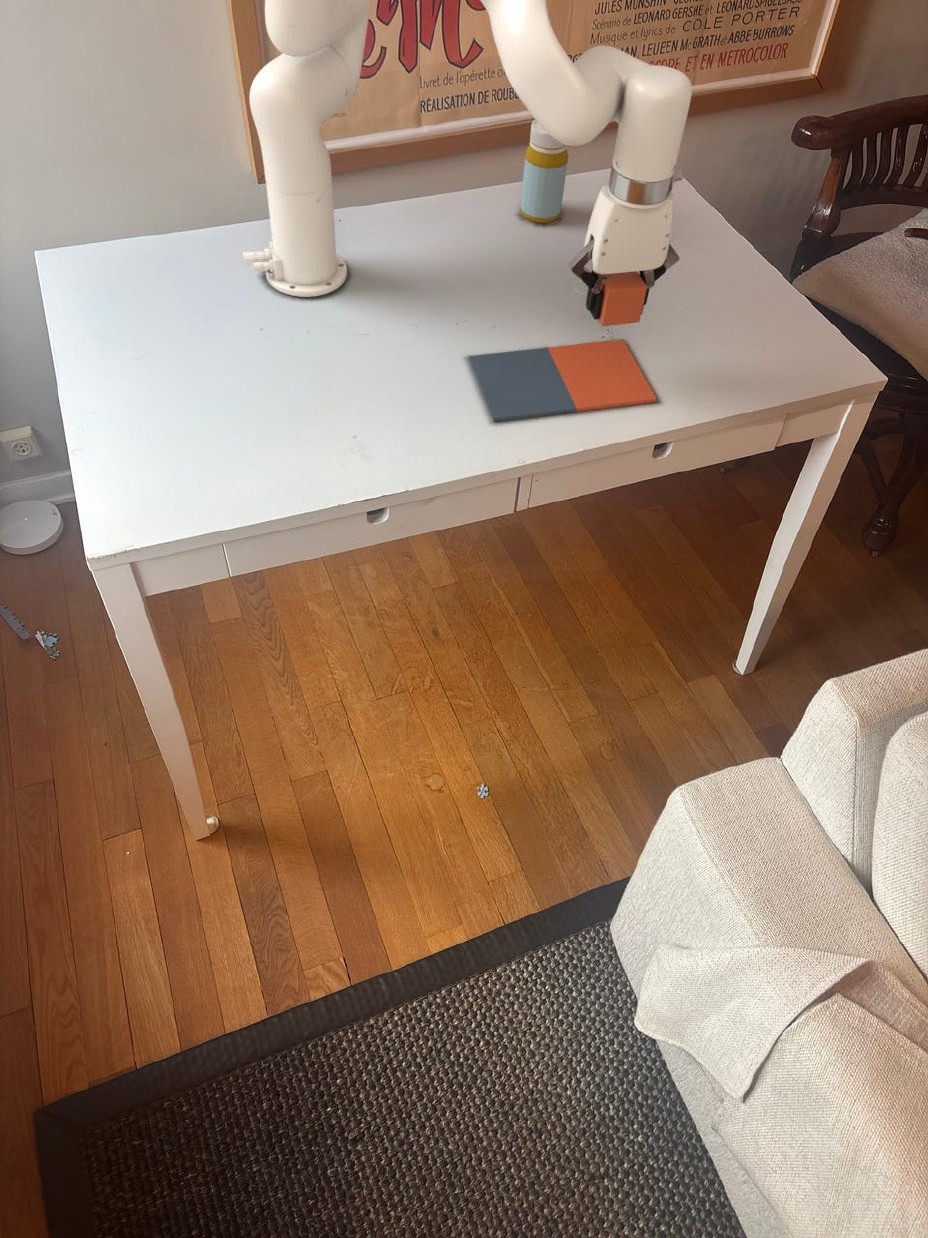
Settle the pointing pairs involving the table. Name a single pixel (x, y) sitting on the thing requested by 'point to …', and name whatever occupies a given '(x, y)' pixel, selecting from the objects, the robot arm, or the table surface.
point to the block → (622, 299)
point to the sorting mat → (560, 380)
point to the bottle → (543, 177)
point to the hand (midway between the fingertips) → (614, 310)
